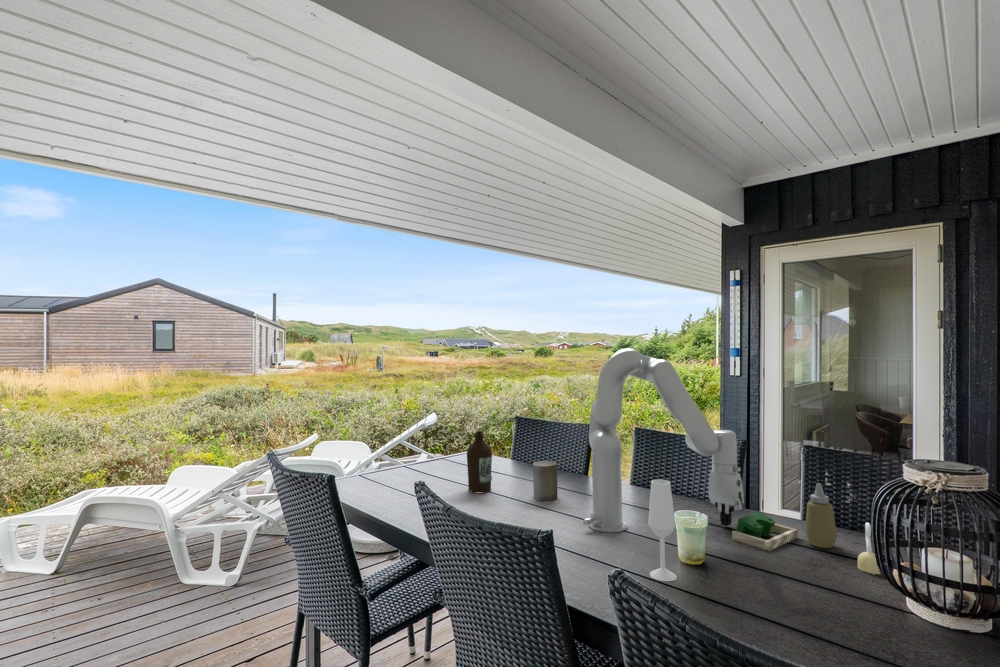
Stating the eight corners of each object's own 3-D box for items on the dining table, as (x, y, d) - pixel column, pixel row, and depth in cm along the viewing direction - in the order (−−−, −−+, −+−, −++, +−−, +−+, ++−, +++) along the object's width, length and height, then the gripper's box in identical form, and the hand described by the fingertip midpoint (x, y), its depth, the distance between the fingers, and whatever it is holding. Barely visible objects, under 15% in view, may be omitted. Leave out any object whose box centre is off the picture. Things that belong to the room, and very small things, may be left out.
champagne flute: (655, 567, 136) (653, 477, 137) (680, 574, 131) (678, 481, 132) (645, 576, 131) (643, 482, 131) (670, 583, 126) (668, 486, 127)
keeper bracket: (769, 551, 146) (768, 542, 146) (732, 539, 155) (731, 531, 155) (798, 537, 156) (797, 529, 156) (761, 527, 165) (761, 519, 165)
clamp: (754, 554, 155) (753, 531, 151) (736, 543, 159) (735, 521, 156) (777, 532, 160) (776, 510, 156) (758, 523, 165) (758, 501, 161)
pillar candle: (561, 496, 203) (560, 458, 204) (550, 502, 195) (549, 463, 196) (540, 493, 209) (539, 456, 209) (528, 499, 200) (527, 461, 201)
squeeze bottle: (833, 541, 152) (830, 481, 153) (841, 551, 145) (839, 488, 145) (802, 538, 155) (800, 479, 155) (809, 548, 147) (806, 486, 148)
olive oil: (462, 490, 214) (461, 431, 215) (480, 485, 221) (480, 428, 222) (478, 495, 206) (478, 433, 207) (497, 490, 214) (496, 430, 215)
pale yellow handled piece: (883, 576, 129) (881, 528, 129) (858, 571, 132) (856, 525, 132) (881, 567, 134) (879, 521, 134) (856, 563, 137) (855, 518, 137)
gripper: (752, 470, 162) (754, 528, 162) (710, 462, 175) (712, 516, 174) (739, 474, 158) (741, 533, 157) (697, 465, 170) (698, 520, 170)
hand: (726, 524), depth 166 cm, fingers closed
